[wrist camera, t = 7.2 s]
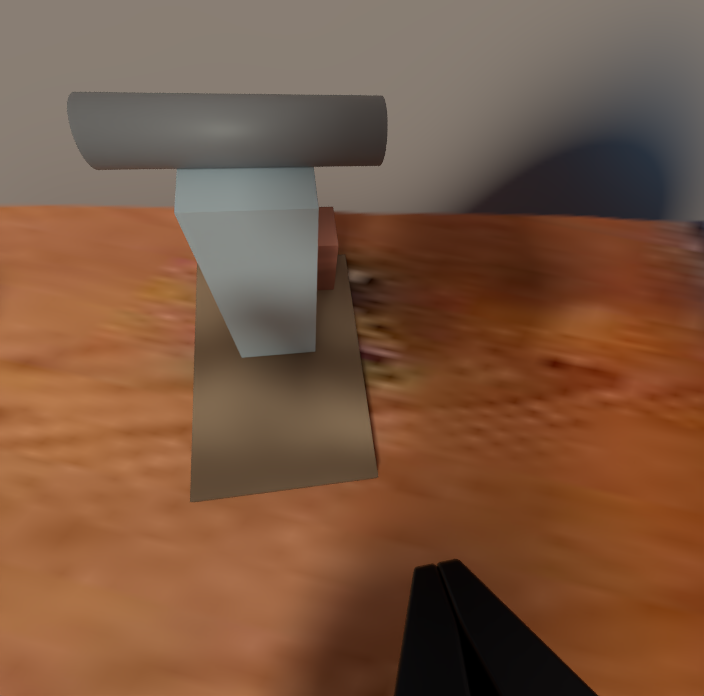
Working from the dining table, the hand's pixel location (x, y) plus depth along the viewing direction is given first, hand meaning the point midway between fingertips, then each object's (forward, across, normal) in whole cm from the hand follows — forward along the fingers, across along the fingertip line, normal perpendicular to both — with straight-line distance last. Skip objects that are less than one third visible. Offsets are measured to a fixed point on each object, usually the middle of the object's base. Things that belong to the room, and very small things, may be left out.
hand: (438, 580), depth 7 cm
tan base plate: (+15, +5, -1) cm, 16 cm away
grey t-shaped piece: (+16, +5, -3) cm, 17 cm away
